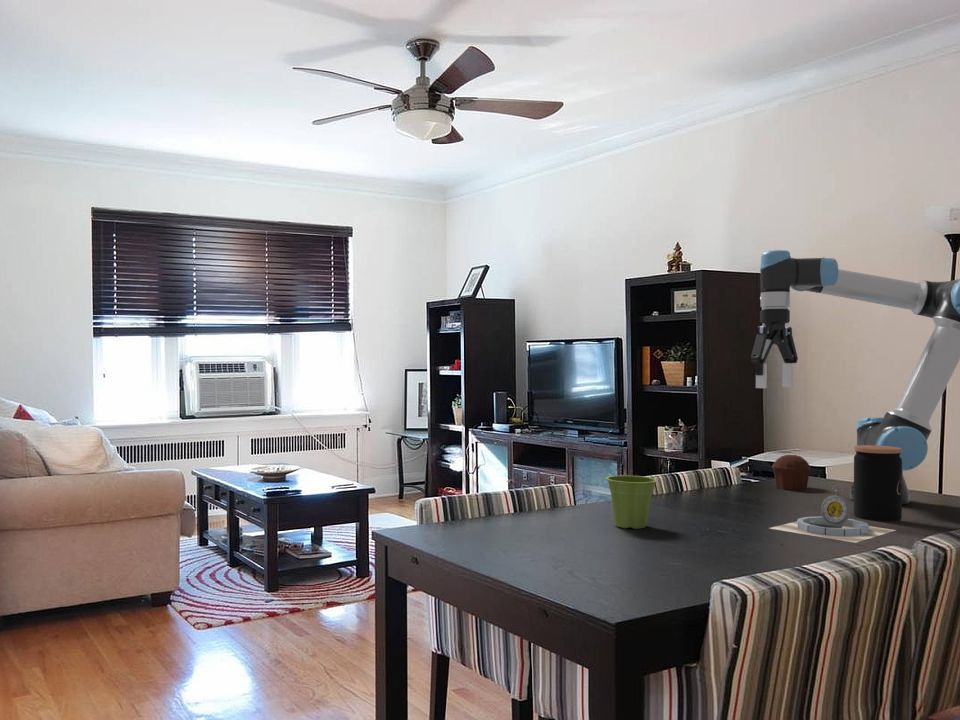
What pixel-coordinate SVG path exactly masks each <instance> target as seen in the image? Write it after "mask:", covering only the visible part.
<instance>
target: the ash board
mask: <svg viewBox="0 0 960 720" xmlns="http://www.w3.org/2000/svg"><path fill="white" fill-rule="evenodd" d="M811 525H814V524H811ZM815 526H816V525H815ZM842 528H854V527H850V526H844V525H843V527H842ZM768 529H770V530H776V531H783V532H788V533H794V534H800V535H807V536H812V537H817V538H823V539H824V538H825V539H829V540H838V541H843V542H848V543H849V542H850V543H855V544H857V543H860V542H863V541H866V540H870V539H873V538H876V537H879V536H882V535H887V534H889V533H894V532H897V529H890V528H883V527H878V526H872V525H871V526H870V525H869V533H868V534H864V535H860V536H833V535H826V534H825V535H822V534H816V533H810V532H806V531H803V530H800V529H798V527H797V521H792V522H788V523H785V524H781V525H780V524H779V525H776V526H772V527H768Z"/></svg>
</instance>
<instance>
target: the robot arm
mask: <svg viewBox="0 0 960 720" xmlns="http://www.w3.org/2000/svg"><path fill="white" fill-rule="evenodd" d="M759 270H760V273H759V274H760V275H759V276H760V277H759V278H760V279H759V281H760V297H759V300H760V308H762V309H761V310H760V311H759V312H760V313H759V314H760V316H759V320H760V323H761V324H764V325H758V326H757V329H756V331H757V332H756V337H755V341H754V345H753V347H752V351H751V355H750V361H751V363H752V364H755V389H767V384H768V383H767V382H768V381H767V380H768V379H767V376H768V375H767V373H768V370H767V368H768V366H767V365H768V364H767V363H766V360H767V358H768V355H769V354H770V352H771V350H772V347H773V345H776V346H777V349H778V351H779V353H780V354H781V358H782V360H783V361H784V362H783V363H782V365H781V368H782V371H781V373H782V374H781V376H782V378H781V381H782V382H781V384H782V385H781V386H782V388H793V387H794V364H797V363H798V360H799V357H798V353H797V350H796V345H795V342H794V336H793V328H792V327H791V326H786V324H789V323H790V319H791V318H790V317H791V316H790V315H791V311H790V309H789V308H791V307H790V306H791V290H790V289H792V290H794V291H798V292H810V293H816V294H817V293H818V294H823V295H829V296H834V297H840V298H845V299H850V300H856V301H860V302H867V303H872V304H876V305H877V304H878V305H883V306H888V307H894V308H899V309H904V310H910V311H911V312H912V314H914V315H916V316H921V317H927V318H930V319H932V320H933V322H934V325H935V327H934V329H933V331H932V332H931V335H930V337H929V339H928V341H927V343H926V344H925V346H924V349H923V351H922V353H921V355H920V357H919V359H918V362H917V363H916V365H915V367H914V370H913V372H912V374H911V375H910V377H909V380H908V381H907V384H906V386H905V388H904V389H903V392H902V394H901V396H900V397H899V400H898V402H897V403H896V406H895V407H894V408H892V409H890V410H887V411H886V412H885V414H884V416H883V417H879V416H878V417H863V418H862V417H861V418H860V419H859V420H857V424H856V425H857V427H856V430H855V431H856V446H860V445H876V446H891V447H898V448H901V449H902V452H901V453H900V457H901V459H902V505H908V504H909V503H910V500H911V496H910V491H909V489H908V486H907V483H906V480H905V476H904V473H903V472H904V471H910V470H913V469H915V468H917V467H918V466H920V465H921V464H922V463H923V462H924V461H925V459H926V457H927V455H928V451H929V450H928V449H929V447H928V442H927V441H928V439H929V437H930V434H931V433H932V432H933V431H932V427H931V425H930V421H931V418H932V416H933V414H934V413H935V410H936V408H937V406H938V404H939V402H940V400H941V398H942V397H943V394H944V392H945V390H946V388H947V386H948V384H949V383H950V380H951V377H952V376H953V375H954V372H955V369H956V368H957V366H958V364H959V362H960V278H959V279H958V278H957V279H954V280H948V281H931V280H930V281H929V280H920V281H919V282H914V281H908V280H903V279H902V280H901V279H896V278H892V277H886V276H881V275H873V274H868V273H862V272H857V271H850V270H845V269H839V264H838V261H837V259H835V258H832V257H809V258H808V257H807V258H806V257H805V258H804V257H803V258H796V257H795V258H794V257H792V256H791V252H790V251H789V250H785V249H784V250H782V249H781V250H779V249H778V250H777V249H776V250H775V249H773V250H767V251H764V252H763V253H762V254H761V257H760V268H759ZM849 499H850V500H851V501H854V481H853V482H852V485H851V488H850V491H849Z"/></svg>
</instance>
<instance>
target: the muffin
mask: <svg viewBox="0 0 960 720" xmlns="http://www.w3.org/2000/svg"><path fill="white" fill-rule="evenodd" d="M771 467H772V469H773V475H774V482H775V487H776V489H778V490H784V491H804V490H805V491H806V490H807V488H808V482H809V476H810V471H811V469H812V467H811V466H810V464H809V462H808V461H807V460H806V459H804V458H803V457H802V456H800V455H796V454H784V455H781V456H780V457H778V458H777V459H776V460H775V461H774V462H773V463H772V465H771Z"/></svg>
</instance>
